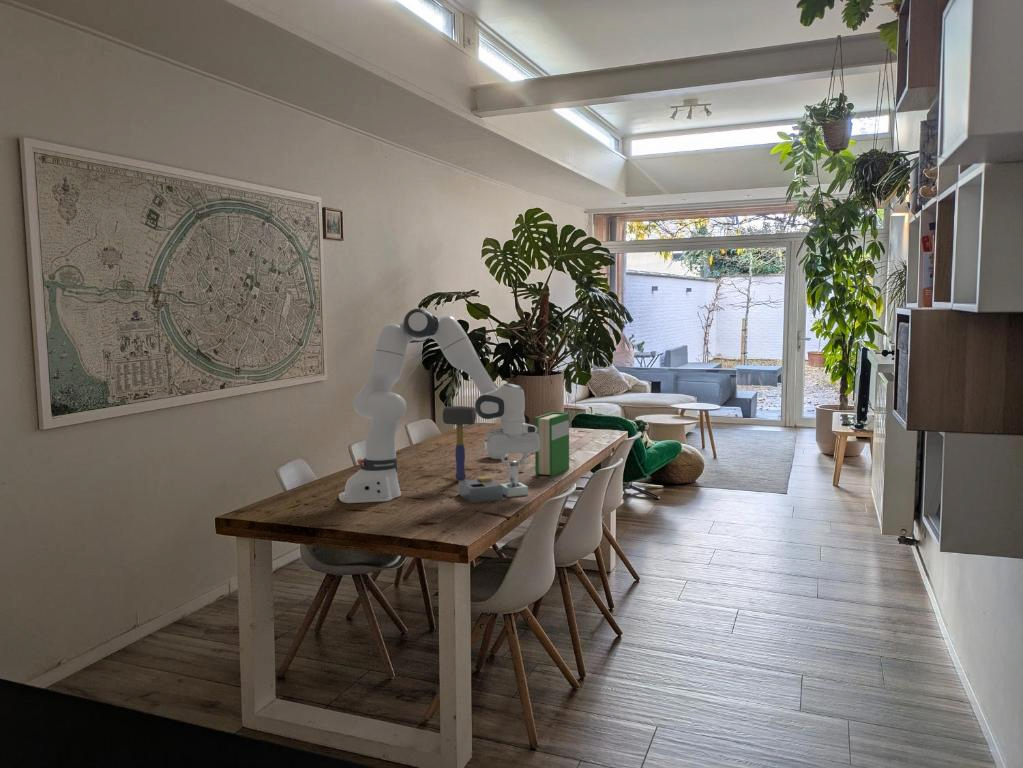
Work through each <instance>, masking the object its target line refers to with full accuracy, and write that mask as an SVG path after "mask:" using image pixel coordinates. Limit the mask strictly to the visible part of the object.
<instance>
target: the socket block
mask: <svg viewBox="0 0 1023 768" xmlns="http://www.w3.org/2000/svg"><path fill="white" fill-rule="evenodd" d="M500 484H501V483H499V482H498V481H495V480H494V479H492V481H488V482H480V481H478V479H477V478H475V479H464V480H462V481H458V492H459V493H458V495H460V496H461V497H462V498H463V499H465V500H467V502H469V503H470V504H471V503H472V504H474V503H484V502H491V501H501V500H504V498H503V497H504V494H503V486H502V485H500Z"/></svg>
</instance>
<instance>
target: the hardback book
mask: <svg viewBox="0 0 1023 768" xmlns="http://www.w3.org/2000/svg"><path fill="white" fill-rule="evenodd" d="M534 426H536V427H537V428H538V431H537V432H536V433H537V434H538V435H539V438H540V449H539V451H537V452H534V456H535V457H534V458H535V464H534V466H535V476H536V475H538V476H540V475H547V476H549V478H553V477H555V475H556V476H558V475H559V473H560V474H562V473H564V472H566V471H568V470H569V469H570V413H569V412H562V411H561V412H559V411H557V412H556V411H552V412H549V413H548V412H547V413H546V414H542V415H539V416H535V417H534ZM567 469H568V470H567ZM565 470H566V471H565ZM563 471H564V472H563ZM561 472H562V473H561ZM539 474H540V475H539ZM557 474H558V475H557Z"/></svg>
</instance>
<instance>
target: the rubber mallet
mask: <svg viewBox="0 0 1023 768" xmlns="http://www.w3.org/2000/svg"><path fill="white" fill-rule="evenodd" d="M476 420H477V412H476V410H475V406H466V405H465V406H463V405H455V406H453V405H452V406H445V407H444V408H443V411H442V421H443V423H444V424H445V425H446V424H447V425H456V445H455V463H456V465H455V467H456V468H455V469H456V472H455V479H456V480H457V482H459V481H462V480H466V471H465V462H466V461H465V460H466V451H465V445H464V426H463V425H466V426H467V425H468V426H469V425H474V424H475V423H476Z"/></svg>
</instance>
